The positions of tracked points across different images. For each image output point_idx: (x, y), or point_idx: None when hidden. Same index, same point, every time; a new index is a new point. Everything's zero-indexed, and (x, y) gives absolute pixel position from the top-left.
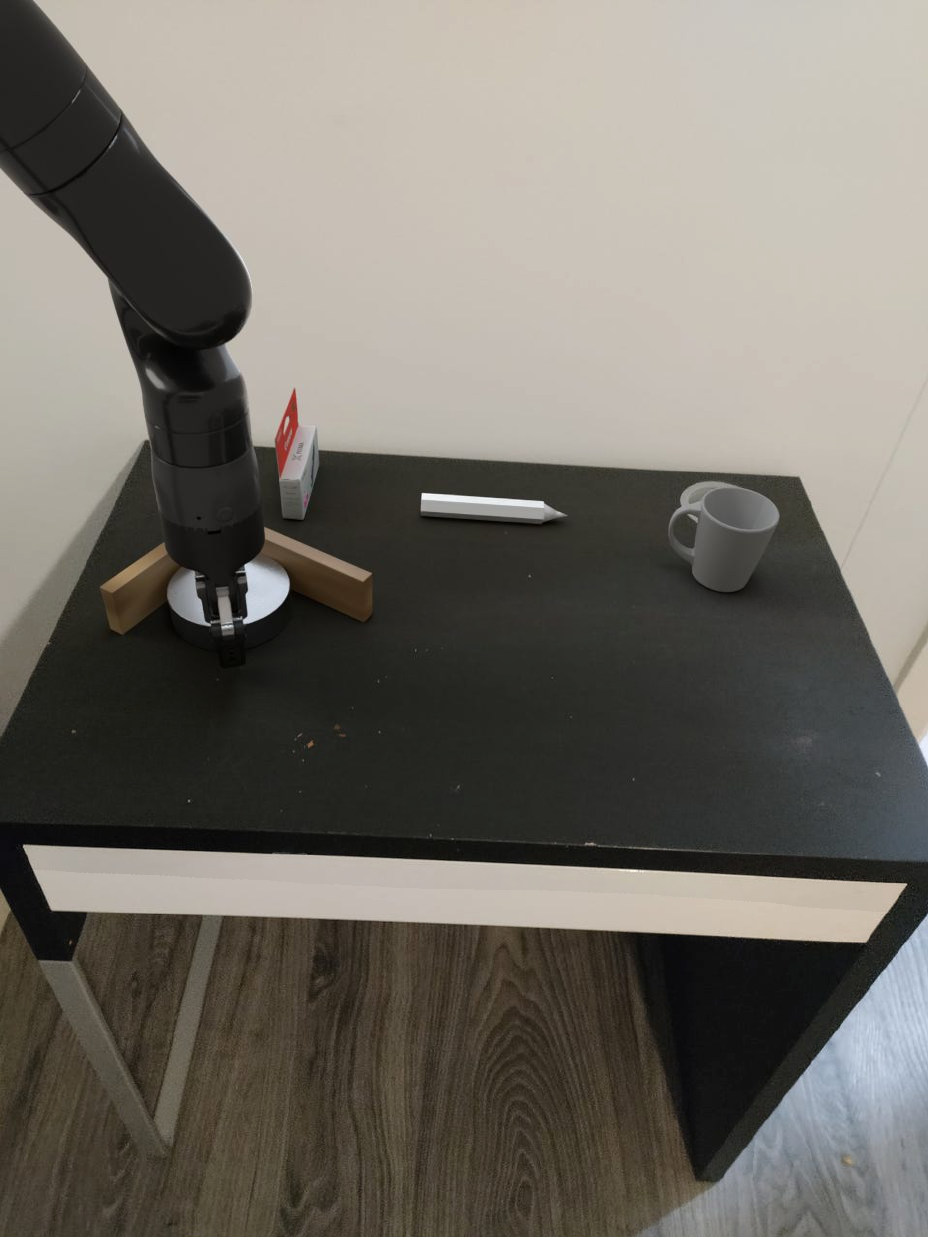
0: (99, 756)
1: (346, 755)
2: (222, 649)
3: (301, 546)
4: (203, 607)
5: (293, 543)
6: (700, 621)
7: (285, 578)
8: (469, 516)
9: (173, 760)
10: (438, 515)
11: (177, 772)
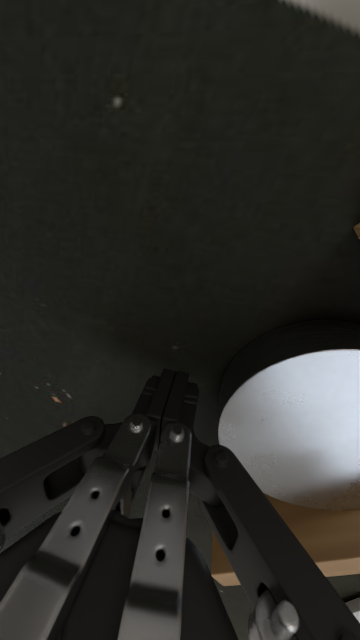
0: (56, 151)
1: (40, 418)
2: (136, 405)
3: (336, 571)
4: (64, 511)
5: (353, 569)
6: None
7: (300, 502)
8: None
9: (42, 263)
10: (351, 604)
11: (23, 265)
